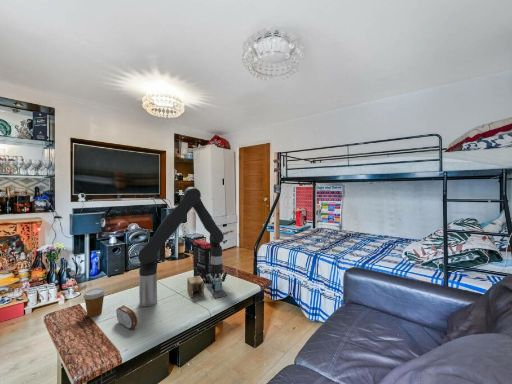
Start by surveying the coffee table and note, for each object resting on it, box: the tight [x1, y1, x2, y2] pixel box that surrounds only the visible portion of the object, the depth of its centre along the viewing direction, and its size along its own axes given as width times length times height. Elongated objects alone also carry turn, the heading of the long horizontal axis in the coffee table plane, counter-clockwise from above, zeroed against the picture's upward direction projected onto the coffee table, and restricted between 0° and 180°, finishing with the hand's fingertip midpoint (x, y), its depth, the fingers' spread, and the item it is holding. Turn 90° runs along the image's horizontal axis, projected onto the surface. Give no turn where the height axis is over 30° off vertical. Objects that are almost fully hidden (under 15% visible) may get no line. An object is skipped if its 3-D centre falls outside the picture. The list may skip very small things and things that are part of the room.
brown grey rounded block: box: [116, 305, 138, 330], centre depth 116 cm, size 15×3×8 cm, turn 56°
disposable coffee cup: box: [83, 287, 106, 318], centre depth 126 cm, size 10×10×12 cm
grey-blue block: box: [208, 276, 221, 292], centre depth 157 cm, size 4×13×6 cm, turn 28°
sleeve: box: [186, 276, 205, 299], centre depth 150 cm, size 8×10×9 cm
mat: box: [206, 285, 229, 299], centre depth 154 cm, size 8×18×1 cm, turn 28°
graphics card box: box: [192, 239, 211, 283], centre depth 175 cm, size 17×7×27 cm, turn 47°
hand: (216, 288), depth 153 cm, fingers closed on grey-blue block, 3 cm apart
